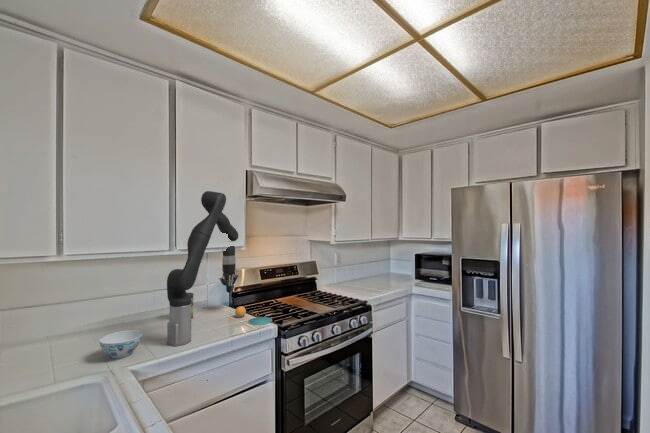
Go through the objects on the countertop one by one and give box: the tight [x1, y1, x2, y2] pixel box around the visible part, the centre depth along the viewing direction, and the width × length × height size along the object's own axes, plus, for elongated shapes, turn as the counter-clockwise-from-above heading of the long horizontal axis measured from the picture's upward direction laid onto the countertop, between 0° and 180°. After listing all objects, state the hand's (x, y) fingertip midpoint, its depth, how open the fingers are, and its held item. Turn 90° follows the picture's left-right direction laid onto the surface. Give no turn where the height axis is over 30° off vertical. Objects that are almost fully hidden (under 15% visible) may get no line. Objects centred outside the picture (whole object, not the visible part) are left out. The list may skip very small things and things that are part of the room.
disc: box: [248, 316, 273, 326], centre depth 173 cm, size 13×13×1 cm
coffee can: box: [186, 292, 195, 320], centre depth 176 cm, size 10×10×14 cm
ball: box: [234, 306, 247, 318], centre depth 180 cm, size 6×6×6 cm
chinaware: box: [98, 329, 143, 359], centre depth 129 cm, size 15×15×8 cm
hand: (229, 292), depth 185 cm, fingers closed
